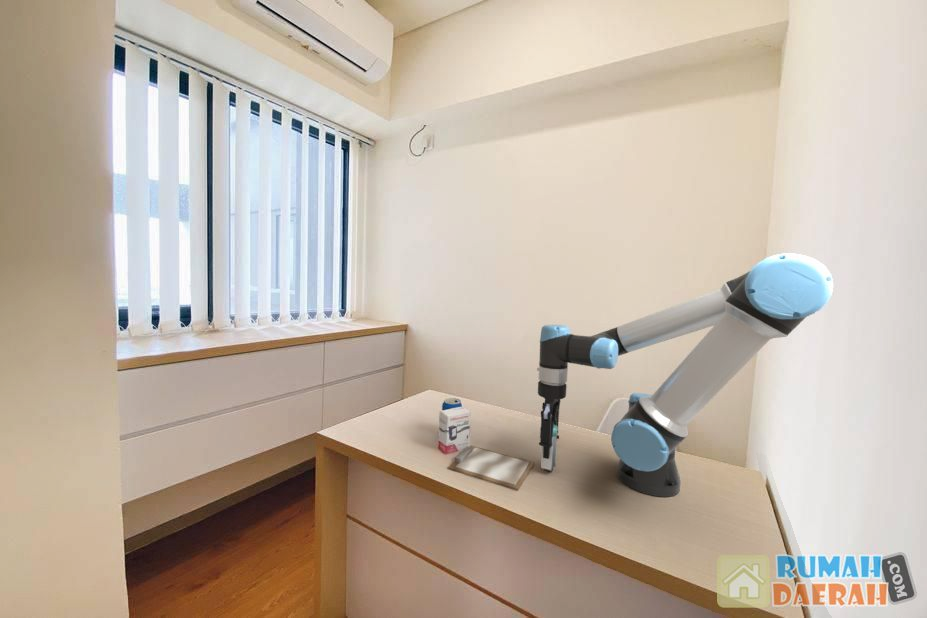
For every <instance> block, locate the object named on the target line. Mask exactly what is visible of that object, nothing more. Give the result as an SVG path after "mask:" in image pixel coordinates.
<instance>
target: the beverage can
mask: <svg viewBox="0 0 927 618" xmlns="http://www.w3.org/2000/svg"><path fill="white" fill-rule="evenodd" d="M457 407H463V405H462V402H461V399H459V398H456V397H449V398H444V400H443V402H442V404H441V411H442V410H447V409H452V408H457Z"/></svg>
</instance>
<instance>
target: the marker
mask: <svg viewBox="0 0 927 618" xmlns="http://www.w3.org/2000/svg"><path fill="white" fill-rule="evenodd" d="M557 429H558V430H559V426H558V427H557V426H556V425H553V436H552V446H553V452H552V469H551V470H548V469H544V468H542V469H543V470H544V471H547V472H553V470H554V468H555V467H556V459H557V458H556V455H557V441H558V439H557V435H558V434H557ZM539 439H541V426H540V431H539ZM541 458H542V455H541Z"/></svg>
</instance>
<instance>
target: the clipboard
mask: <svg viewBox="0 0 927 618" xmlns="http://www.w3.org/2000/svg"><path fill="white" fill-rule="evenodd" d="M534 465H535V463H534V461H530V460H526V459H523V458H520V457H516V456H512V455H509V454H505V453H501V452H497V451H493V450H490V449H485V448H483V447H480V446H479V447H478V446H476V445H475V446H474V445H471V444H470V445H469V447H468V446H466V447H465V448H464V449H463V450H460V452H459V453H457V454H456V455H455V456H454V459H453V462H452V463H450V464H449V465H448V466H447V470H451V471H453V472H456V473H460V474H463V475H465V476H469V477H472V478H476V479H479V480H482V481H484V482H489V483H493V484H496V485H498V486H502V487H504V488H509V489H511V490H514V491H517V492H518V491H519V490H520V488H521V486H522V484H523V483H524V481H525V480H526V478H527V476H528V474H529V473H530V471H531V470H532V467H533V466H534Z"/></svg>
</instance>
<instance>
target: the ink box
mask: <svg viewBox="0 0 927 618" xmlns="http://www.w3.org/2000/svg"><path fill="white" fill-rule="evenodd" d="M438 421H439V424H438V449H439V450H440V451H441V452H442V453H443V454H445V455H448V454H452V453H453V454H454V453H456V452H458V451H460V452H461V451H462V450H463V449H464V448H465V447H466V446H468V447H470V434H471V433H470V432H471V429H470V427H471V411H469V410H468V409H466V408H465V407H464V406H462V407H457V408H452V409H447V410H442V409H441V411H439V420H438Z"/></svg>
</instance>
